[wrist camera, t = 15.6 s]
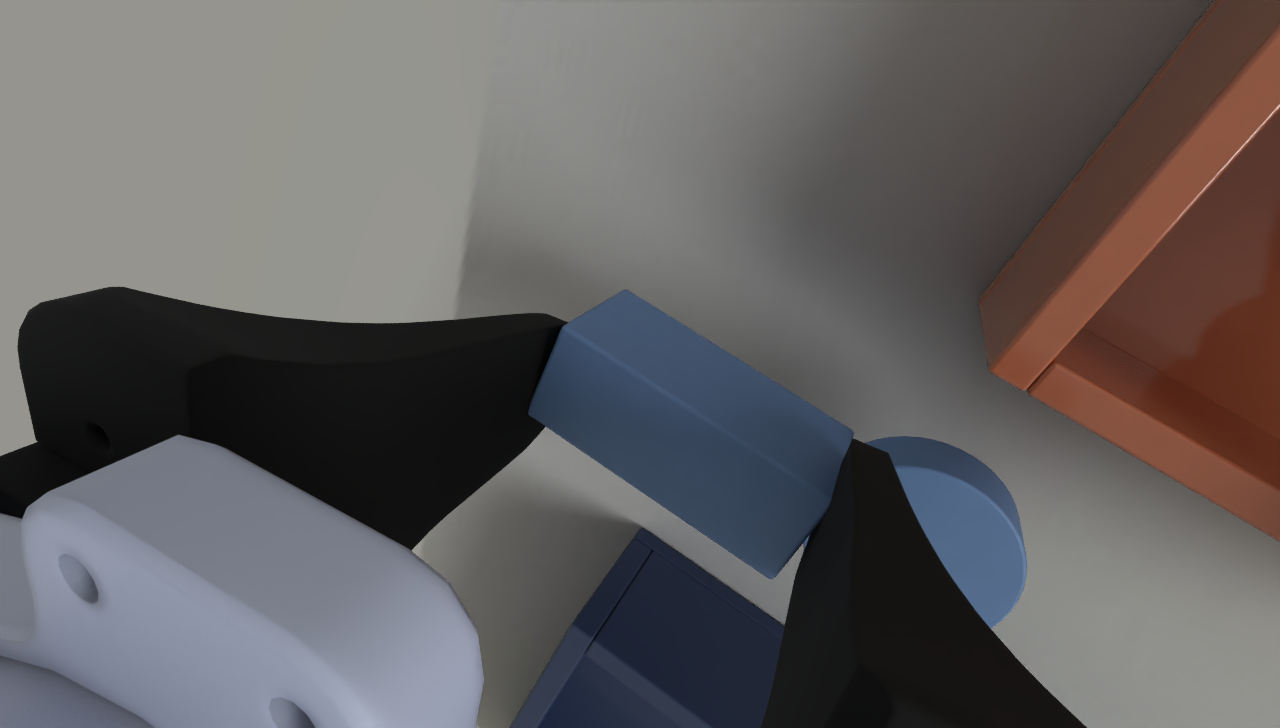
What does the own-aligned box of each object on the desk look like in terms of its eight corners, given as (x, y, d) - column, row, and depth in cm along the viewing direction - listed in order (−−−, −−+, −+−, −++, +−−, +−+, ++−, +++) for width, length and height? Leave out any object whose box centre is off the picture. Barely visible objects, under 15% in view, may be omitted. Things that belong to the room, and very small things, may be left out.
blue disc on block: (576, 393, 15) (509, 445, 12) (641, 252, 13) (578, 284, 11) (938, 634, 13) (936, 742, 11) (1067, 512, 11) (1098, 612, 9)
